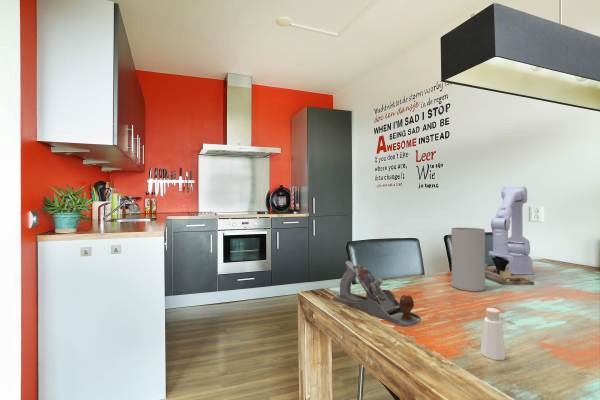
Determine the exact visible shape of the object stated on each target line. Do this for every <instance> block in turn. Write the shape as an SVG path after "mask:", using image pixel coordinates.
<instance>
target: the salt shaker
mask: <svg viewBox="0 0 600 400" xmlns="http://www.w3.org/2000/svg"><path fill="white" fill-rule="evenodd" d="M485 312H486V313H485V314H486V317H485V318H483V319H484V320H483V325H482V333H481V334H482V335H481V342H480V352H479V353H480V354H481V355H483V357H485V358H487V359H489V360H490V359H491V360H494V361H505V360H506V357H507V355H506V348H505V347H506V346H505V339H504V331H503V330H504V329H503V323H502V320H501V319H500V310H499V309H497V308H494V307H487V308H486V309H485Z"/></svg>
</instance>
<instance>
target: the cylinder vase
mask: <svg viewBox="0 0 600 400" xmlns="http://www.w3.org/2000/svg"><path fill="white" fill-rule="evenodd" d="M485 264H486V229H484V228H478V227H451V285H452V287H453V288H454V289H457V290H460V291H464V292H465V291H466V292H482V291H484V290H485V289H486V278H485Z"/></svg>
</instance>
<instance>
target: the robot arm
mask: <svg viewBox="0 0 600 400" xmlns="http://www.w3.org/2000/svg"><path fill="white" fill-rule="evenodd" d="M500 193H501V198H502V200H503V201H502V205H500V206H499V207H498V210H497V212H496V214H495V217H493V218H492V219H491V220H490V227H491V234H492V250H489V251H488V256H492V258H491V260H492V263H493V264H494V267H495V268H496V271H497V273H498V274H500V270H507V271H510V272H511V274H512V275H515V276H518V275H534V274H535V273H534V272H533V259H532V257H531V256H530V254H531V245H530V240H529V239H528V238H526V236H525V237H524V236H523V227H524V226H523V225H524V224H523V222H524V221H523V220H524V219H523V206H524V204H526V203H527V202H528V190H527V187H526V186H510V187H509V186H507V187H506V186H503V187H502V188H501V191H500ZM510 227H511V229H510ZM509 231H511V233H510V234H511V235H510V236H509ZM507 266H508V269H506V268H507Z"/></svg>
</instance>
